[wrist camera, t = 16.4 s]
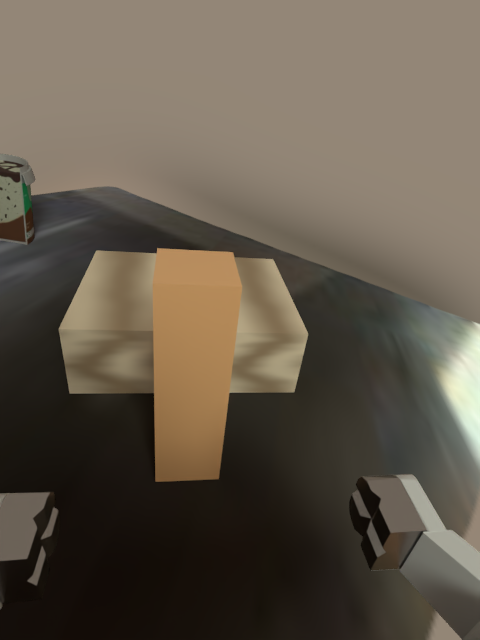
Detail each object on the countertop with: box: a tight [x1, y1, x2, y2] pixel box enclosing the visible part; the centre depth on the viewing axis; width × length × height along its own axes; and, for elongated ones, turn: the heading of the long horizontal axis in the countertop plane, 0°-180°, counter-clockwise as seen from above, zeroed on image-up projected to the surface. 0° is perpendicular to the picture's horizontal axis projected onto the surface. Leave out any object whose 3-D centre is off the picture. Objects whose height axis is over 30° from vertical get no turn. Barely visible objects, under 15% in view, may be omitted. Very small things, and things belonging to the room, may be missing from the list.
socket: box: [59, 251, 308, 394], centre depth 36 cm, size 18×14×6 cm
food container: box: [0, 154, 35, 245], centre depth 53 cm, size 12×6×10 cm, turn 82°
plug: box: [153, 248, 242, 482], centre depth 23 cm, size 4×4×14 cm
